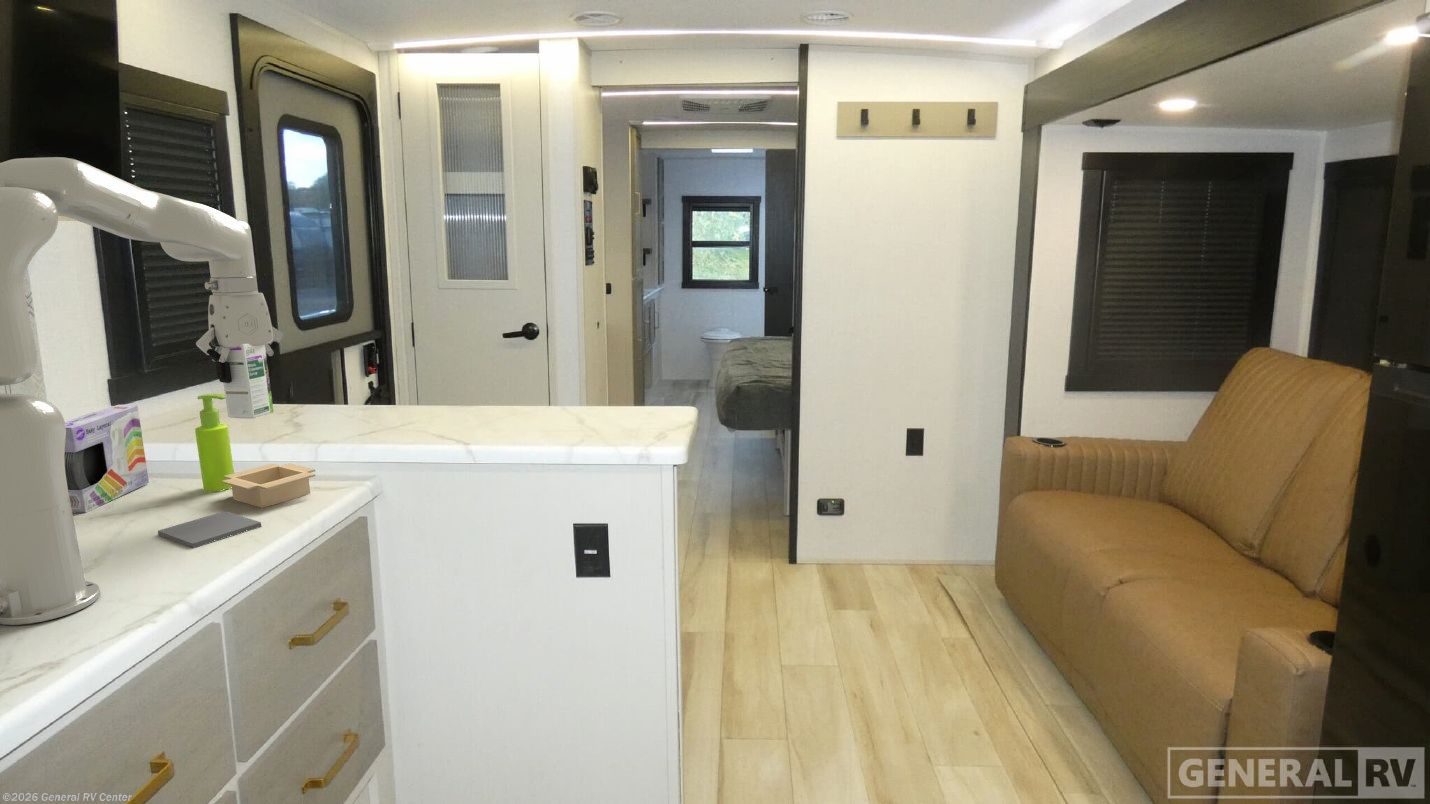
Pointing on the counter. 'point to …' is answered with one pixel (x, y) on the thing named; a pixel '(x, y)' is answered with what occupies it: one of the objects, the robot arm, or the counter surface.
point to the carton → (270, 484)
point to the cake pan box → (104, 457)
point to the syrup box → (248, 383)
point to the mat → (208, 529)
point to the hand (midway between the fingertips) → (246, 378)
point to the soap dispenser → (213, 446)
